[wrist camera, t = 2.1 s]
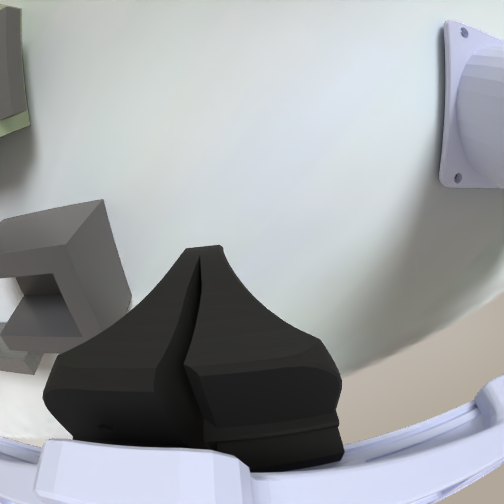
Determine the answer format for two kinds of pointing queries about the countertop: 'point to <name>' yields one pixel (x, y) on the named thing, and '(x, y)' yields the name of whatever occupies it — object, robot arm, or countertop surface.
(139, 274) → the countertop surface
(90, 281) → the chute
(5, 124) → the pale green flat plate
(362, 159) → the countertop surface
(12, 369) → the chute mount
